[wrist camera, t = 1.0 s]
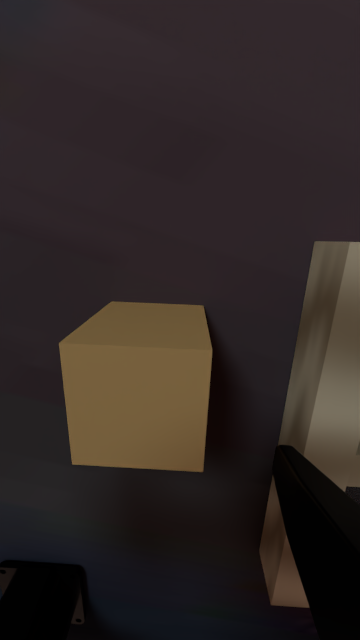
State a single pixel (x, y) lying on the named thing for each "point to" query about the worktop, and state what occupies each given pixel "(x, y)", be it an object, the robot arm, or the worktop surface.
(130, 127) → the worktop surface
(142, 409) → the block
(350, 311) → the puzzle frame
